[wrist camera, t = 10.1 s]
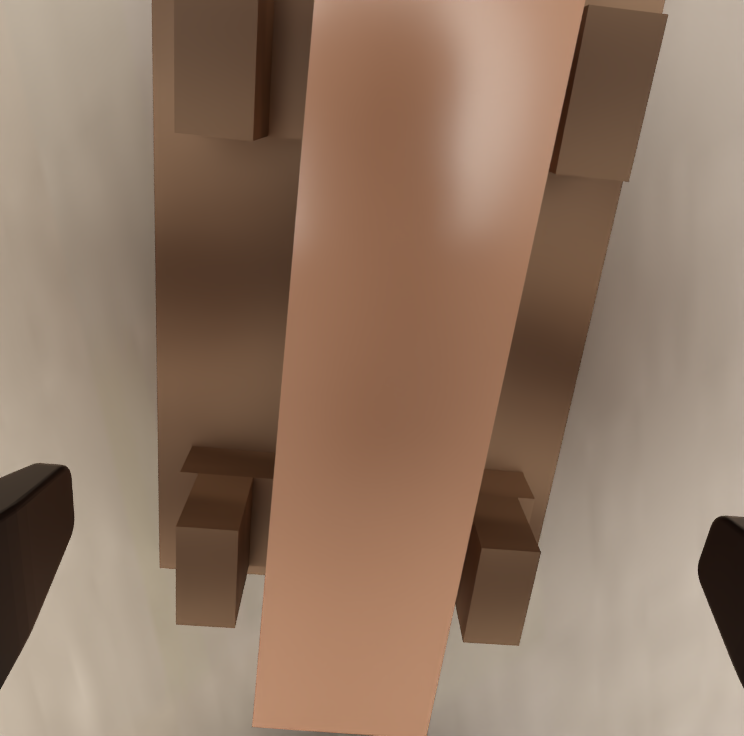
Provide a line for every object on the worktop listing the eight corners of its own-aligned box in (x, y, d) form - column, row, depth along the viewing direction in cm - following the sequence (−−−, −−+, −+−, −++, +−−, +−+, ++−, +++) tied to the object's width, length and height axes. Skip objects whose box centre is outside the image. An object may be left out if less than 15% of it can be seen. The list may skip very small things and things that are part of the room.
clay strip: (408, 592, 20) (426, 739, 15) (276, 580, 20) (252, 726, 15) (518, -6, 14) (598, -60, 10) (333, -35, 14) (323, -105, 9)
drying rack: (519, 572, 23) (562, 691, 18) (167, 548, 22) (118, 665, 18) (653, -20, 16) (772, -70, 12) (162, -83, 16) (82, -163, 11)
